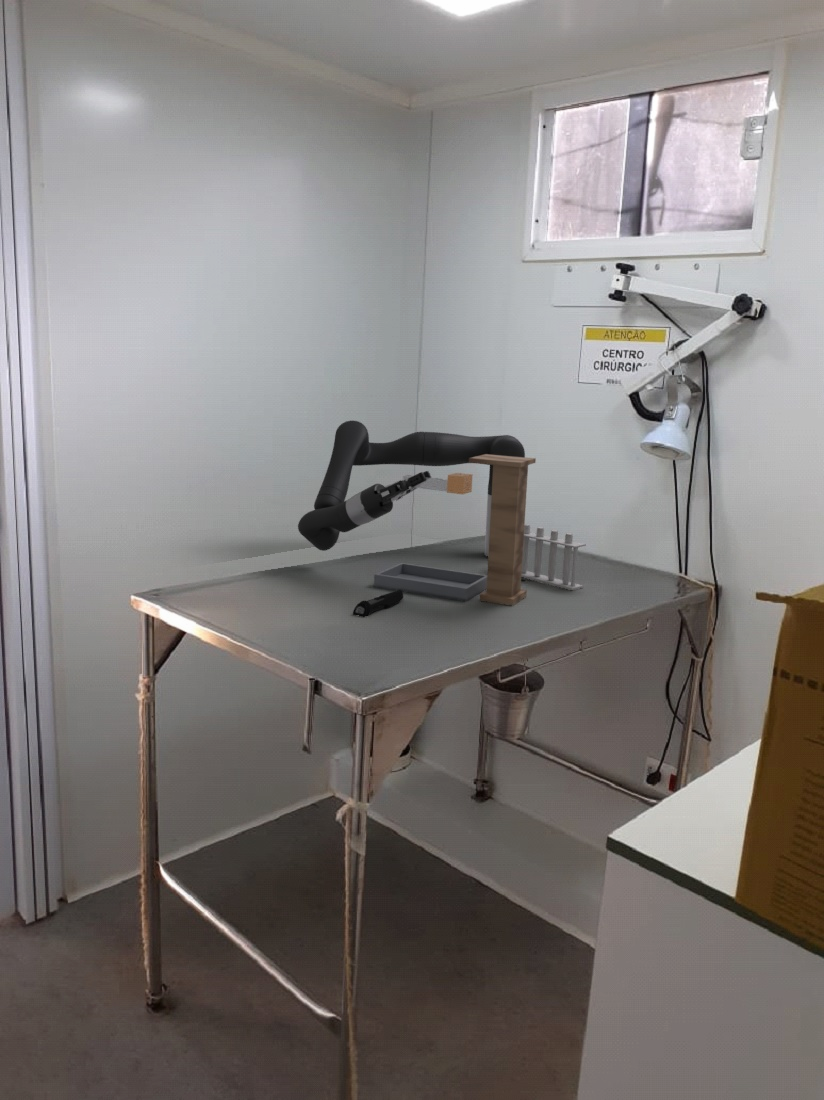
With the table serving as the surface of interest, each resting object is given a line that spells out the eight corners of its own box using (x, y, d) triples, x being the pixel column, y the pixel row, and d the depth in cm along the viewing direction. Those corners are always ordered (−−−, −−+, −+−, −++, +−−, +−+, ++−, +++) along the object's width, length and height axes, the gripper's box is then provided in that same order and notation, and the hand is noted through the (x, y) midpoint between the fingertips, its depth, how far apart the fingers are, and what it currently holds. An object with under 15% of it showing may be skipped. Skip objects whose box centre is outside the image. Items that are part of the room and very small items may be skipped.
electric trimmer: (407, 604, 193) (408, 590, 192) (365, 619, 180) (366, 604, 179) (393, 601, 195) (394, 587, 194) (351, 615, 182) (351, 601, 181)
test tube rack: (583, 588, 209) (587, 535, 206) (571, 591, 206) (575, 537, 203) (505, 568, 227) (508, 518, 224) (494, 570, 224) (496, 520, 221)
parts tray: (401, 574, 216) (401, 562, 216) (488, 587, 206) (489, 575, 206) (374, 586, 204) (374, 574, 204) (466, 601, 194) (466, 588, 193)
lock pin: (409, 484, 206) (410, 467, 205) (471, 491, 199) (472, 474, 198) (399, 486, 201) (400, 469, 200) (463, 494, 195) (464, 476, 194)
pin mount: (478, 588, 205) (485, 454, 198) (527, 596, 200) (535, 458, 193) (462, 598, 197) (468, 458, 190) (512, 606, 191) (520, 462, 184)
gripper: (388, 514, 215) (445, 486, 206) (361, 523, 203) (420, 493, 194) (376, 487, 215) (432, 458, 207) (348, 494, 203) (406, 463, 194)
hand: (426, 475), depth 200 cm, fingers closed on lock pin, 2 cm apart
